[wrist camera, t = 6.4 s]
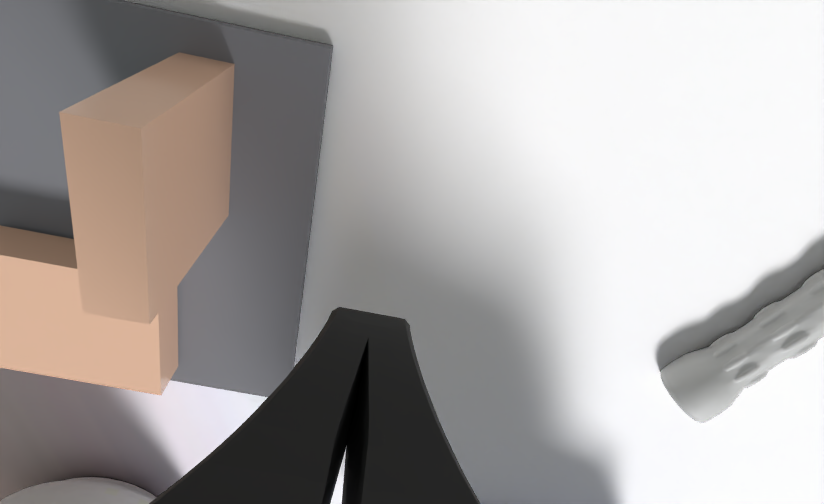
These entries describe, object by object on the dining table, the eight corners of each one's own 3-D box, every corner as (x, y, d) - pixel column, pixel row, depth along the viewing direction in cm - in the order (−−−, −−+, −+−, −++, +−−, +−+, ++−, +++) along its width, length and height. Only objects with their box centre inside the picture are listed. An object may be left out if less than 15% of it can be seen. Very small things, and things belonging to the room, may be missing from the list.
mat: (333, 45, 17) (330, 48, 16) (290, 393, 24) (288, 400, 23) (-170, -62, 16) (-185, -62, 15) (-60, 332, 23) (-68, 338, 22)
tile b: (234, 64, 17) (140, 128, 11) (228, 215, 19) (149, 324, 14) (173, 51, 16) (50, 109, 11) (175, 204, 19) (76, 311, 14)
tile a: (157, 283, 18) (-35, 248, 18) (160, 395, 21) (-7, 366, 20) (178, 256, 20) (2, 223, 20) (180, 363, 22) (23, 335, 22)
